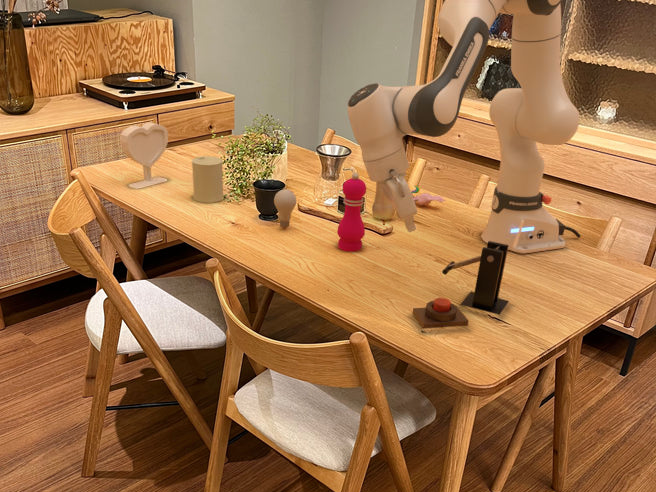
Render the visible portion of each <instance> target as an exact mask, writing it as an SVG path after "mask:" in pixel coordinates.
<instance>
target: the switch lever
mask: <svg viewBox="0 0 656 492" xmlns="http://www.w3.org/2000/svg"><path fill="white" fill-rule="evenodd" d="M491 249H496V250H500V251H501V248H500V246H498V247H494V248H491ZM480 259H481V255H478V256H474V257H471V258H468V259H465V260H461V261H458V262H455V261H453V260H452V261H450V262H449V263H448V264H447V265H446V266H445V267H444V268H443V269H442V271H441V272H442V274H443V275H448V273H449V272H450V271H452V270H455V269H459V268H462V267H467V266H469V265H472V264H476V263H480Z"/></svg>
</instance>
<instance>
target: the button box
mask: <svg viewBox="0 0 656 492" xmlns="http://www.w3.org/2000/svg"><path fill="white" fill-rule="evenodd" d="M433 304H434V300H431V301H429V302H427V303H426V305H425V307H413V308H412V314H413V316H414V317H415V318H416V321H417V322H418V323H419V324H420V326H421V327H422V329H433V328H448V327H465V326H468V325H469V319H468V318H467V317H466V315H464V313H463V312H462V311H461V310H460V308H459V307H458V306H457V305H455V304H454V303H452V302H451V306H450V311H448V312H439V311H436V310H434V309H433ZM421 333H422V334H424V333H425V334H426V333H428V331H425V330H421Z"/></svg>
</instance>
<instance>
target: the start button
mask: <svg viewBox="0 0 656 492" xmlns="http://www.w3.org/2000/svg"><path fill="white" fill-rule="evenodd" d="M433 301H434V304H433V309H434V310H436V311H439V312H448V311H450V306H451V303H452V301H451V300H450V299H448V298H446V297H437V298H434V300H433Z"/></svg>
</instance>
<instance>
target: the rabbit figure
mask: <svg viewBox="0 0 656 492" xmlns="http://www.w3.org/2000/svg"><path fill="white" fill-rule="evenodd" d="M414 188H415V189H413V190H410V191H411V194H412V196H413V199H414V202H415V203H416V202H417V204H418V205H419V206H421V207H424V206H427V205H430V204H431V202H433V201H435V202H440V203H444V202H446V200H445V198H443V197H442V196H440V195H432V194H430V193H429V192H422V193H420V195H418V193H419V192H420V187H419V186H417V185H416V186H414ZM414 194H416V195H414Z"/></svg>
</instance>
